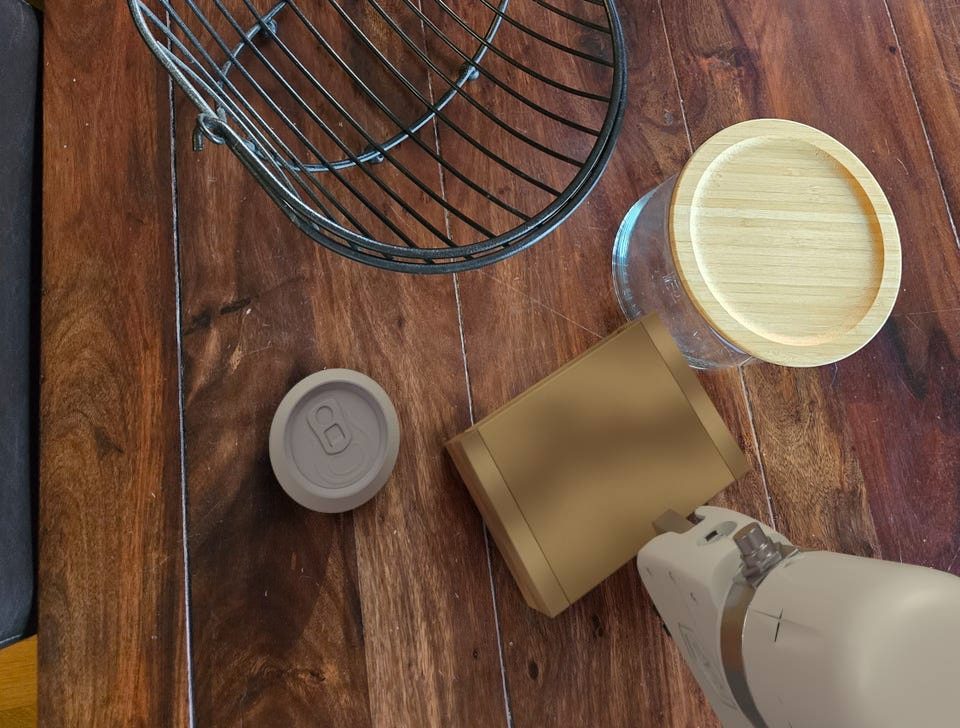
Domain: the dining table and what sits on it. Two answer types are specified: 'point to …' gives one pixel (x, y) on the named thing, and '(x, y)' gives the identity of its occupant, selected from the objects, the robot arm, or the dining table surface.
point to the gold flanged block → (595, 462)
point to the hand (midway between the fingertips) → (680, 603)
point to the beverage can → (334, 440)
